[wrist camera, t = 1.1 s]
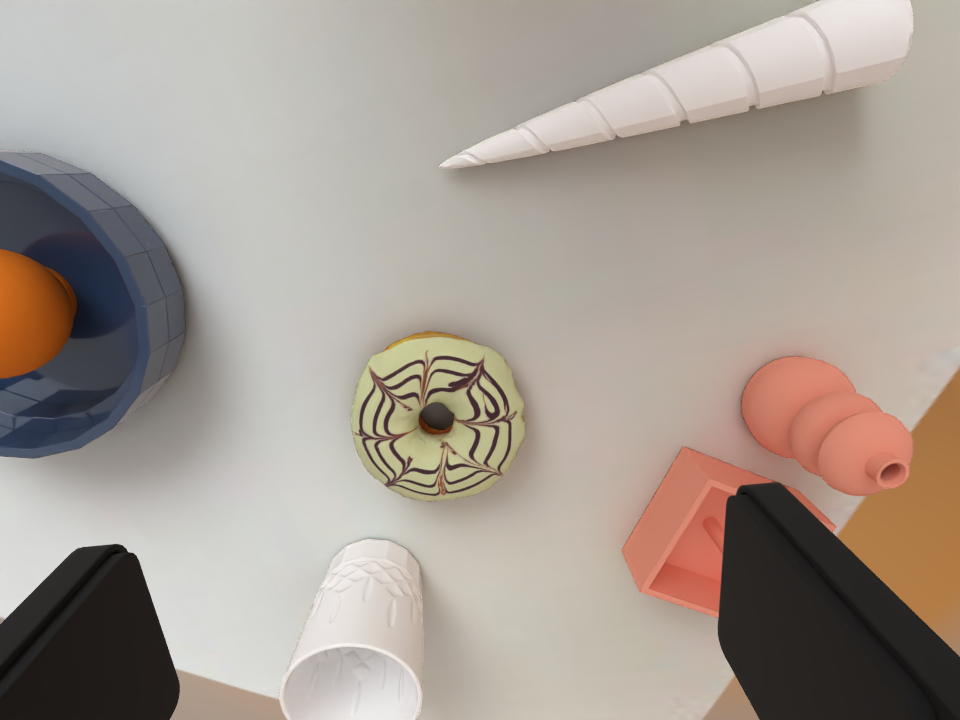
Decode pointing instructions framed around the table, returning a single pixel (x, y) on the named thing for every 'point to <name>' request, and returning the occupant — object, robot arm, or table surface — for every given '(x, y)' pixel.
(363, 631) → the white cup
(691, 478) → the pottery
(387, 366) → the decorated donut
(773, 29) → the unicorn horn
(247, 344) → the table surface
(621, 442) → the table surface
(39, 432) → the blue bowl
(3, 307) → the orange
